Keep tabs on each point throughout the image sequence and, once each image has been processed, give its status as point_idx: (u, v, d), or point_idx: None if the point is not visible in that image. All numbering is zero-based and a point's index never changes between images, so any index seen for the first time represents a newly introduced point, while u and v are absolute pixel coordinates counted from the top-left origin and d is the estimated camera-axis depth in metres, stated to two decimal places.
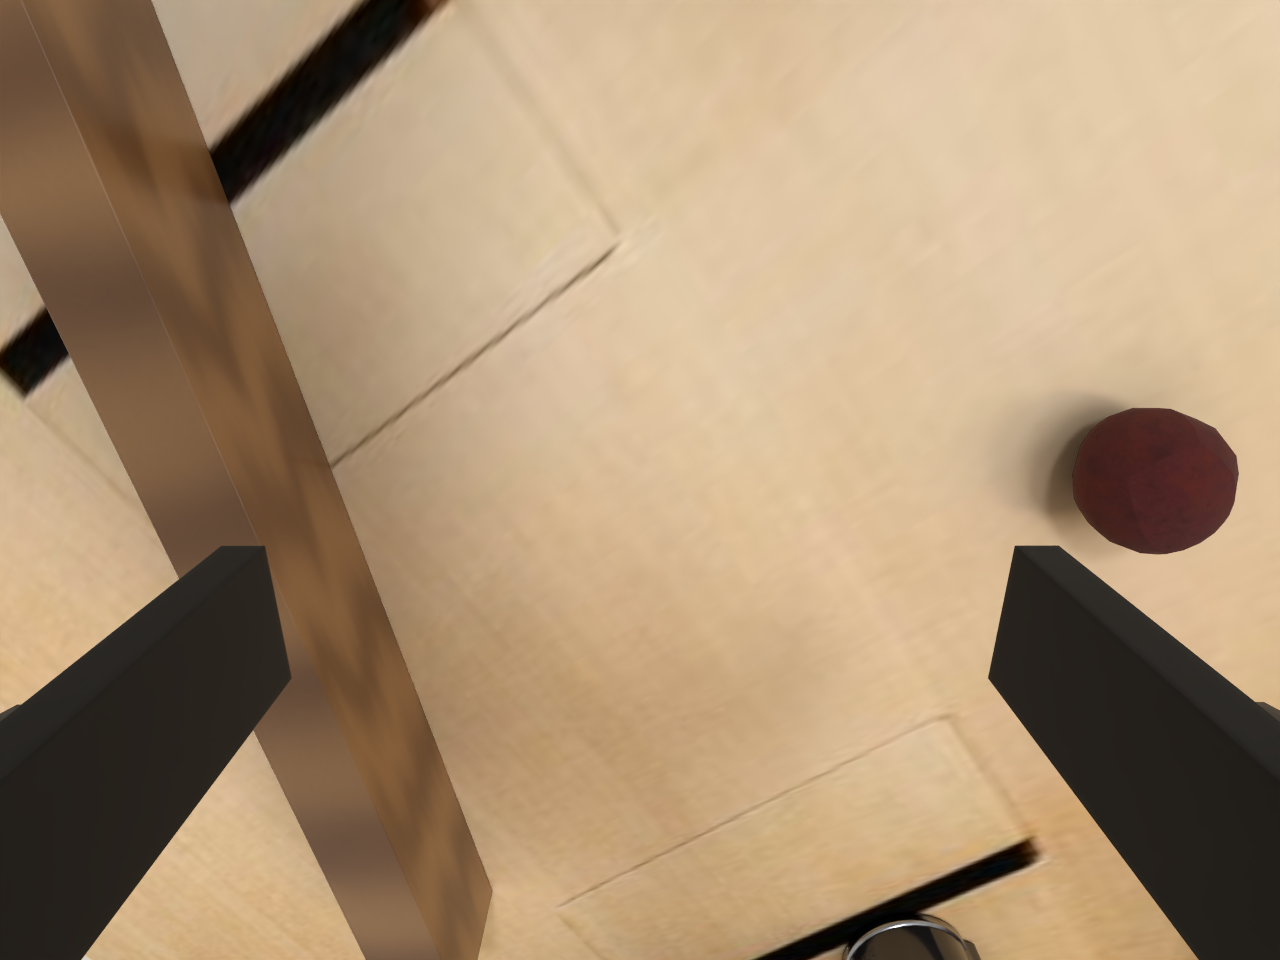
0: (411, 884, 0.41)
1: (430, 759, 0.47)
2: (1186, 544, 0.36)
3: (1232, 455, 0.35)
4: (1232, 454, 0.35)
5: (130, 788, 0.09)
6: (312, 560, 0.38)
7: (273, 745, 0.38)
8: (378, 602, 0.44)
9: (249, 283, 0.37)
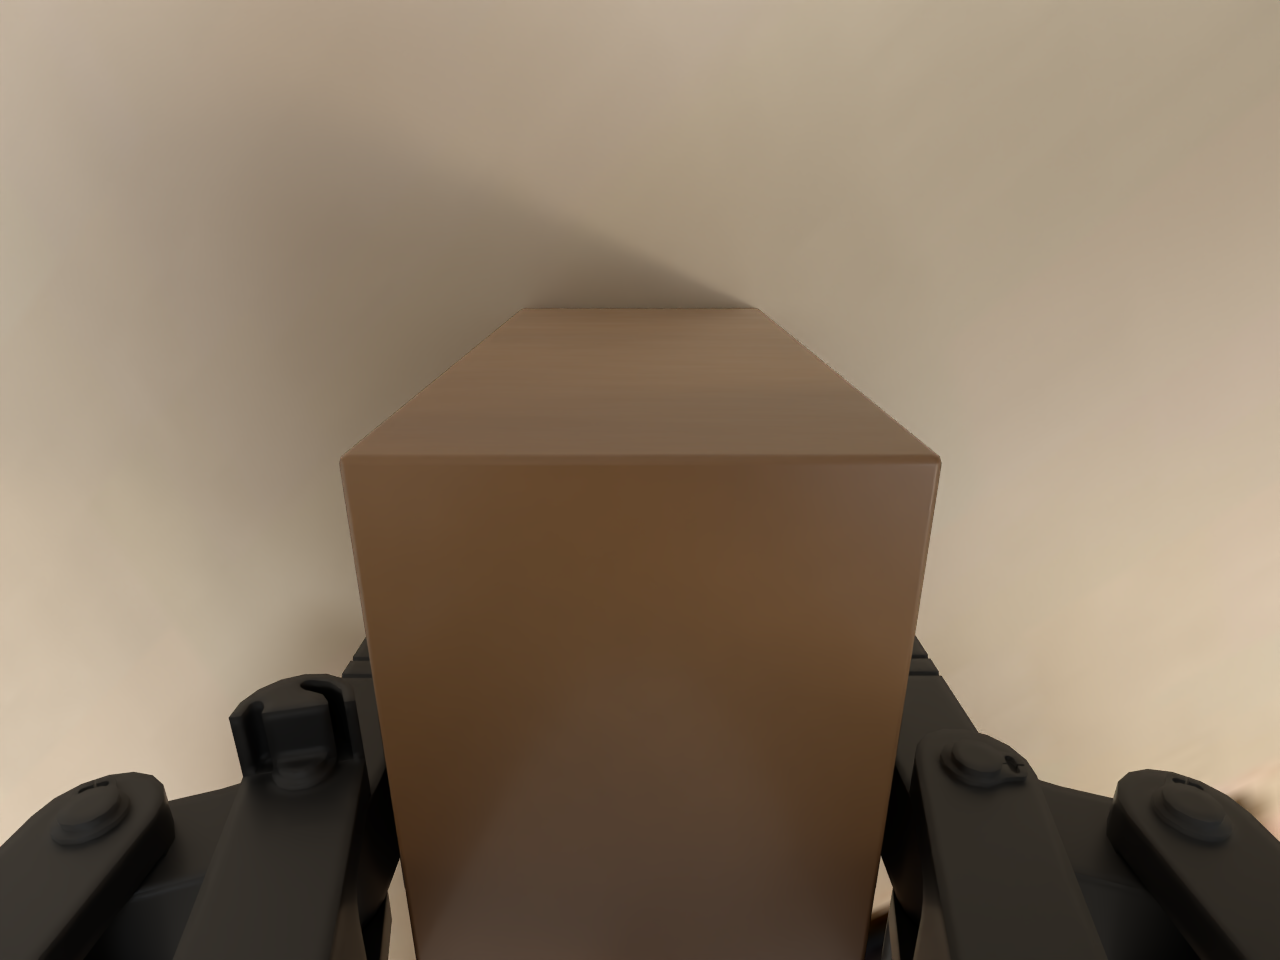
0: None
1: None
2: None
3: None
4: None
5: None
6: None
7: None
8: None
9: None
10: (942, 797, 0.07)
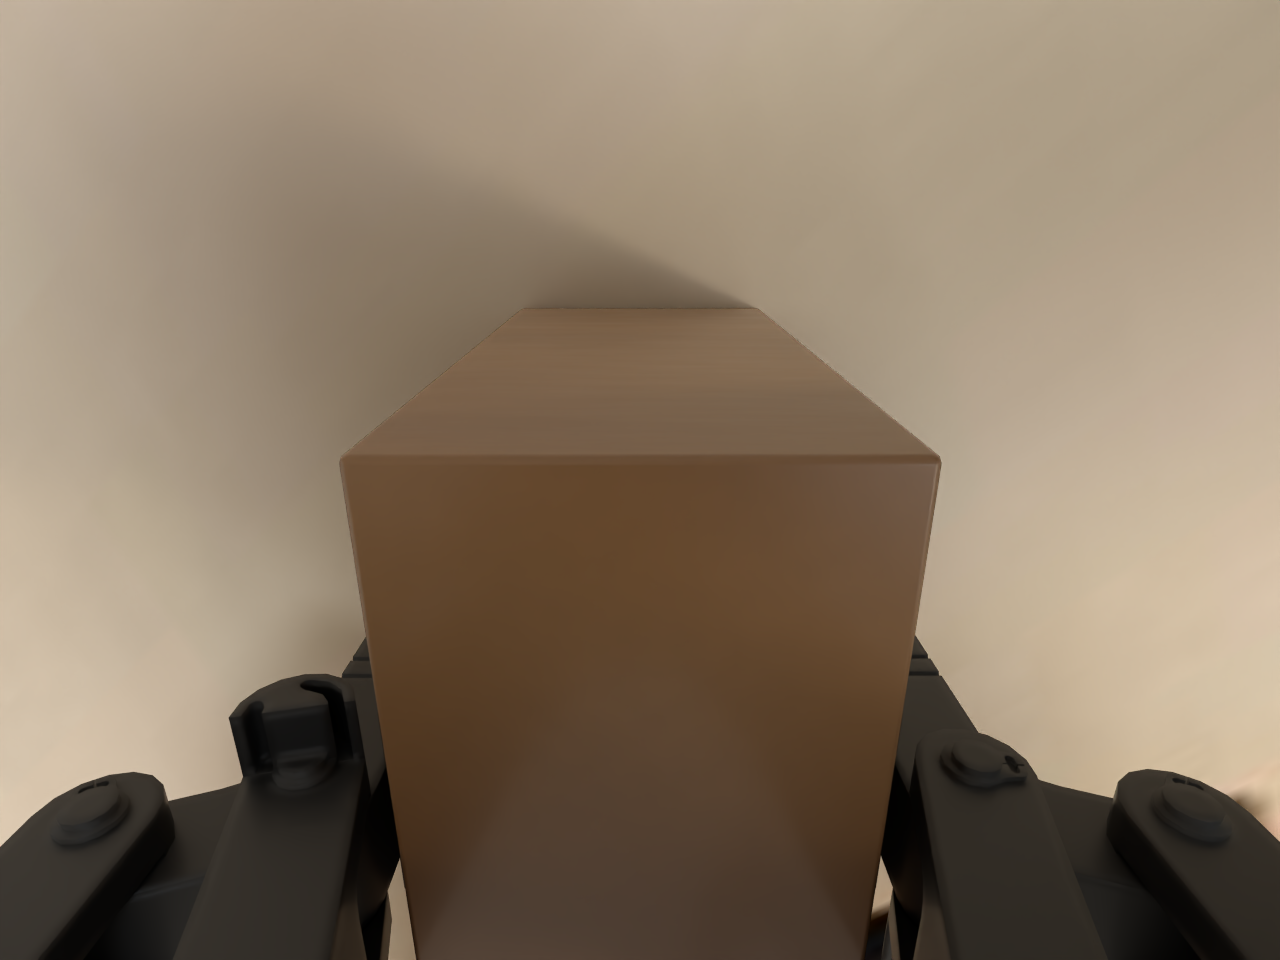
0: None
1: None
2: None
3: None
4: None
5: None
6: None
7: None
8: None
9: None
10: (942, 797, 0.07)
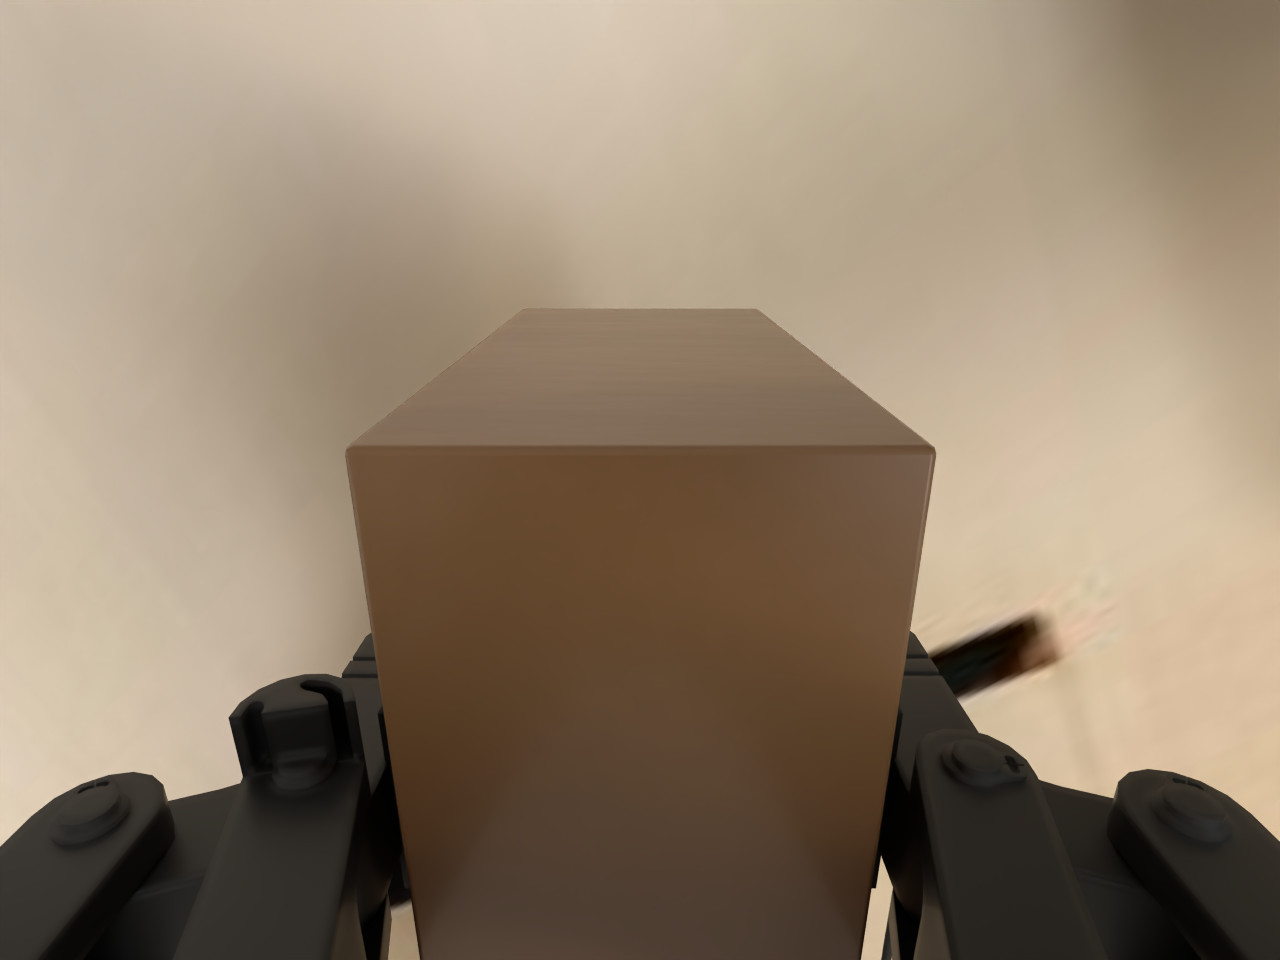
0: None
1: None
2: None
3: None
4: None
5: None
6: None
7: None
8: None
9: None
10: (942, 798, 0.07)
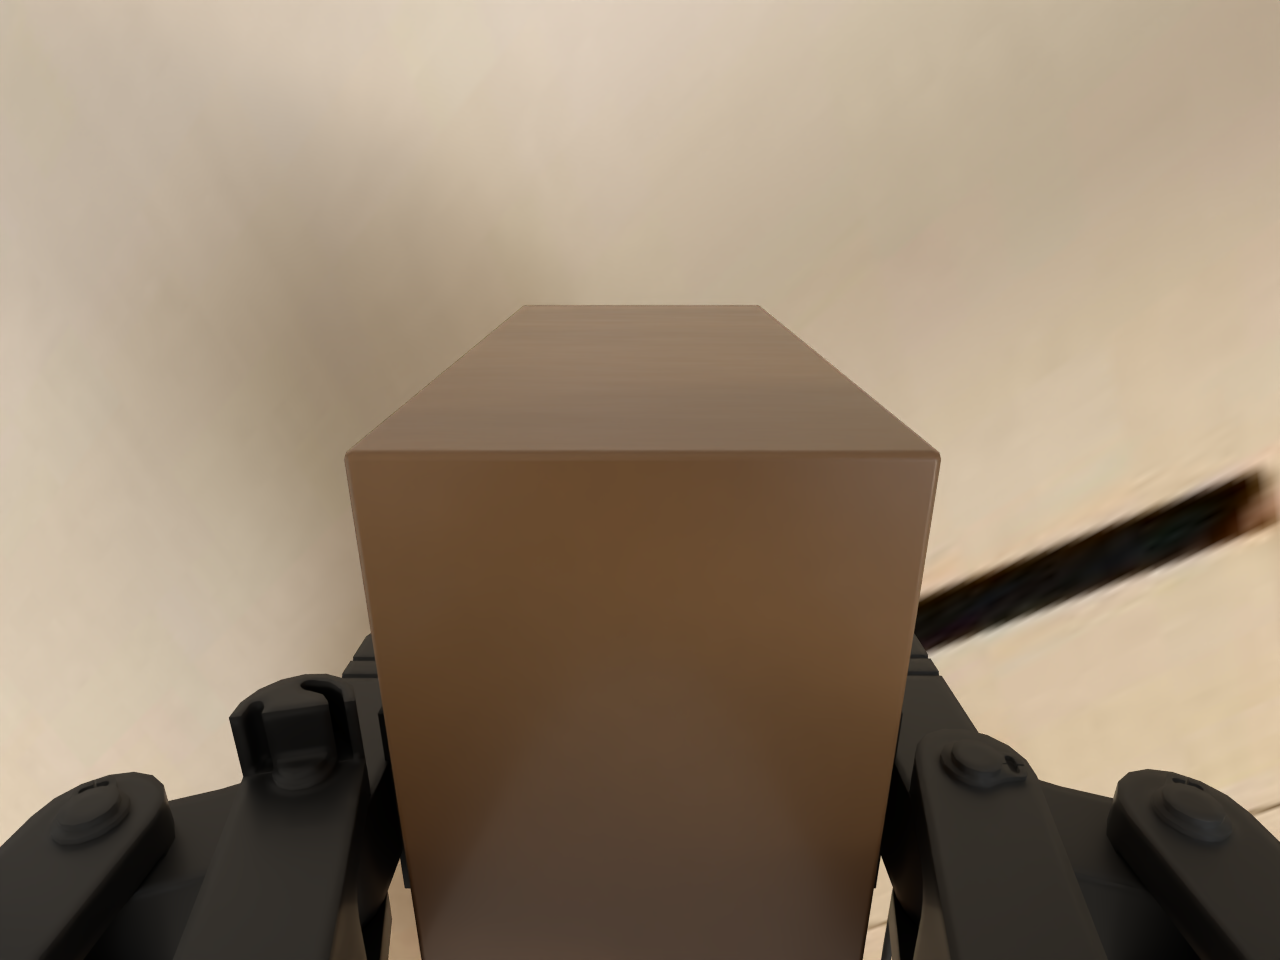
0: None
1: None
2: None
3: None
4: None
5: None
6: None
7: None
8: None
9: None
10: (942, 797, 0.07)
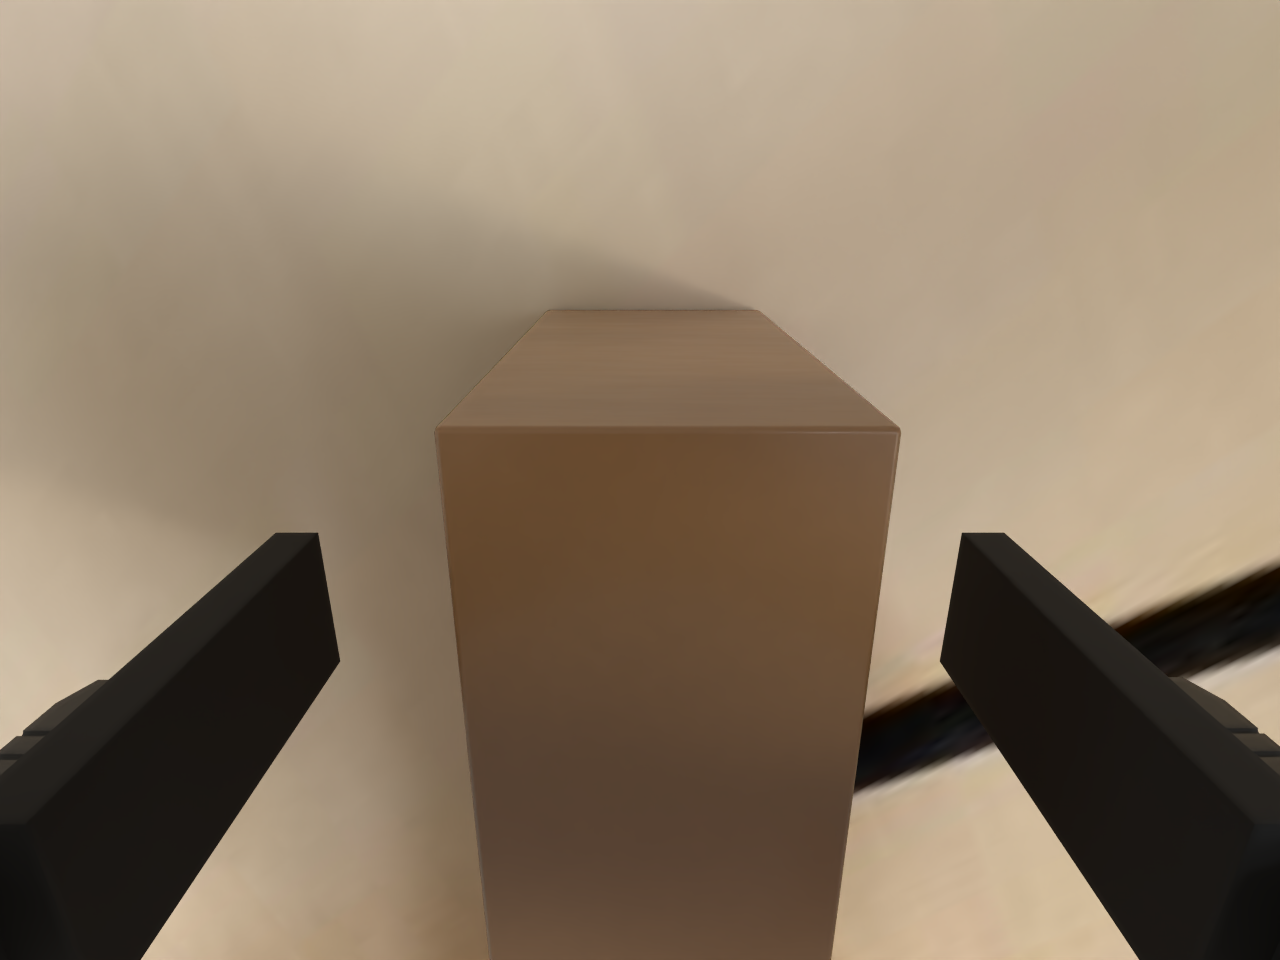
0: None
1: None
2: None
3: None
4: None
5: (208, 759, 0.10)
6: None
7: None
8: None
9: None
10: None
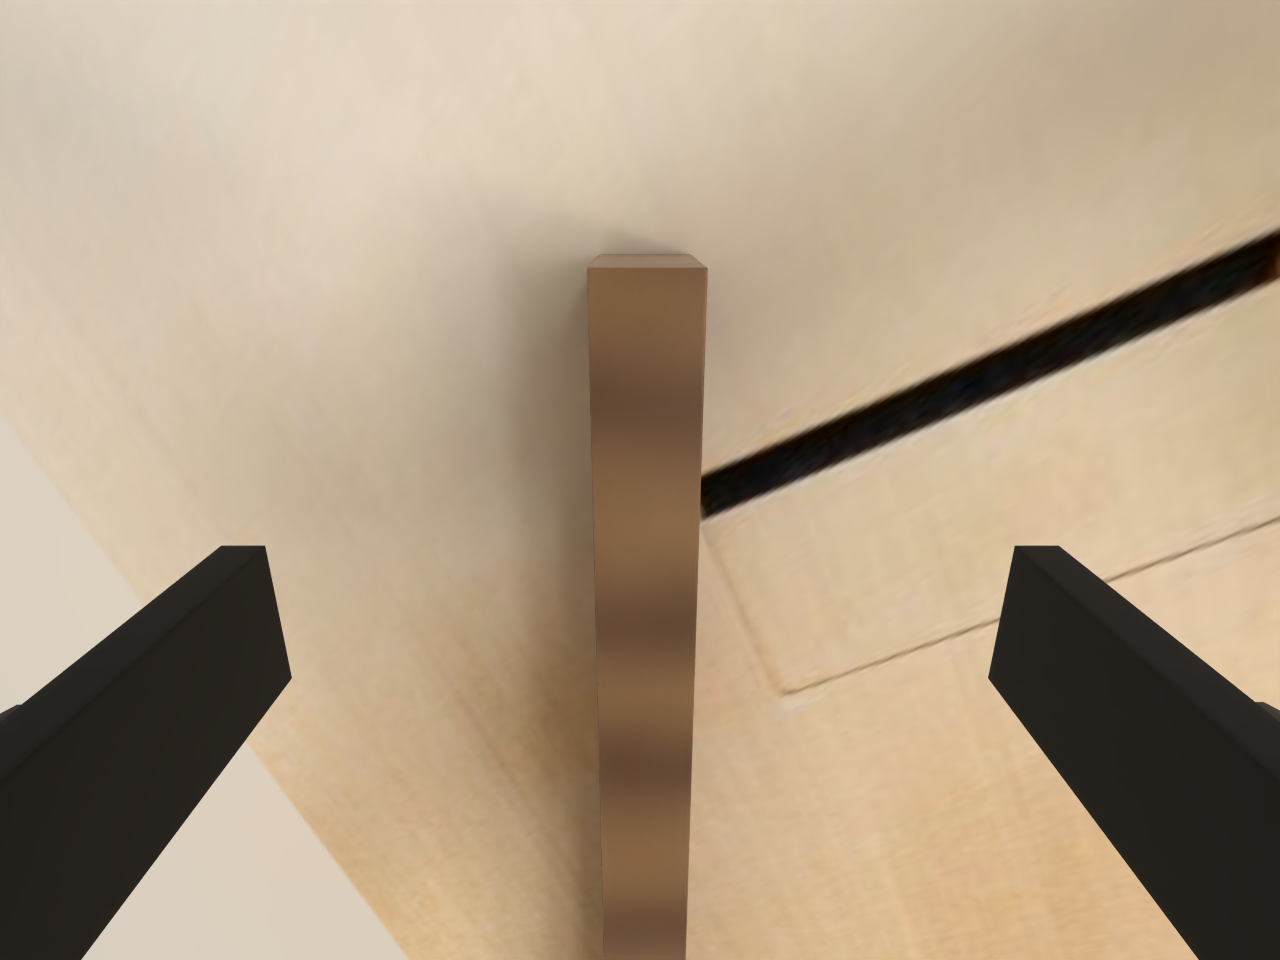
0: None
1: None
2: None
3: None
4: None
5: (131, 788, 0.09)
6: None
7: None
8: None
9: None
10: None
